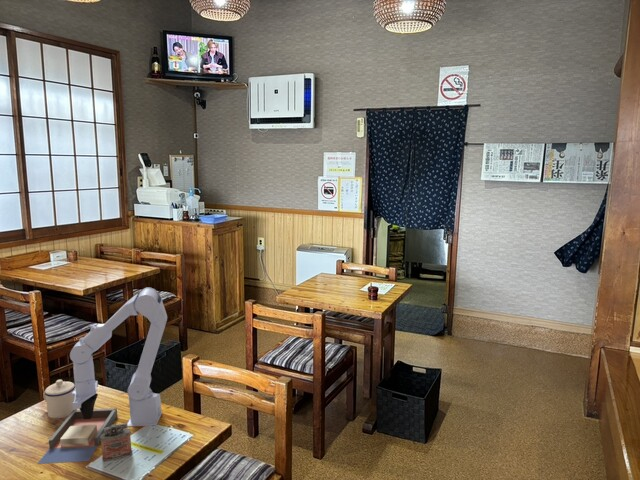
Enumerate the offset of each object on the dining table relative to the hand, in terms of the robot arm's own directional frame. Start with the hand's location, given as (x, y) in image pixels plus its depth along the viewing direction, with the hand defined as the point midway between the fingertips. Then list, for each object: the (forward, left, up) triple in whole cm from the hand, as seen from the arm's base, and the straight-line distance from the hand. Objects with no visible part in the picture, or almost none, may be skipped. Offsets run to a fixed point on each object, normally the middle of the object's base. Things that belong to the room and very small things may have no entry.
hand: (88, 418), depth 153 cm
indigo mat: (0, +15, -3) cm, 16 cm away
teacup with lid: (+14, -11, -3) cm, 18 cm away
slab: (0, +7, -3) cm, 8 cm away
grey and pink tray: (0, +3, -3) cm, 4 cm away
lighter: (-14, +17, -3) cm, 22 cm away
